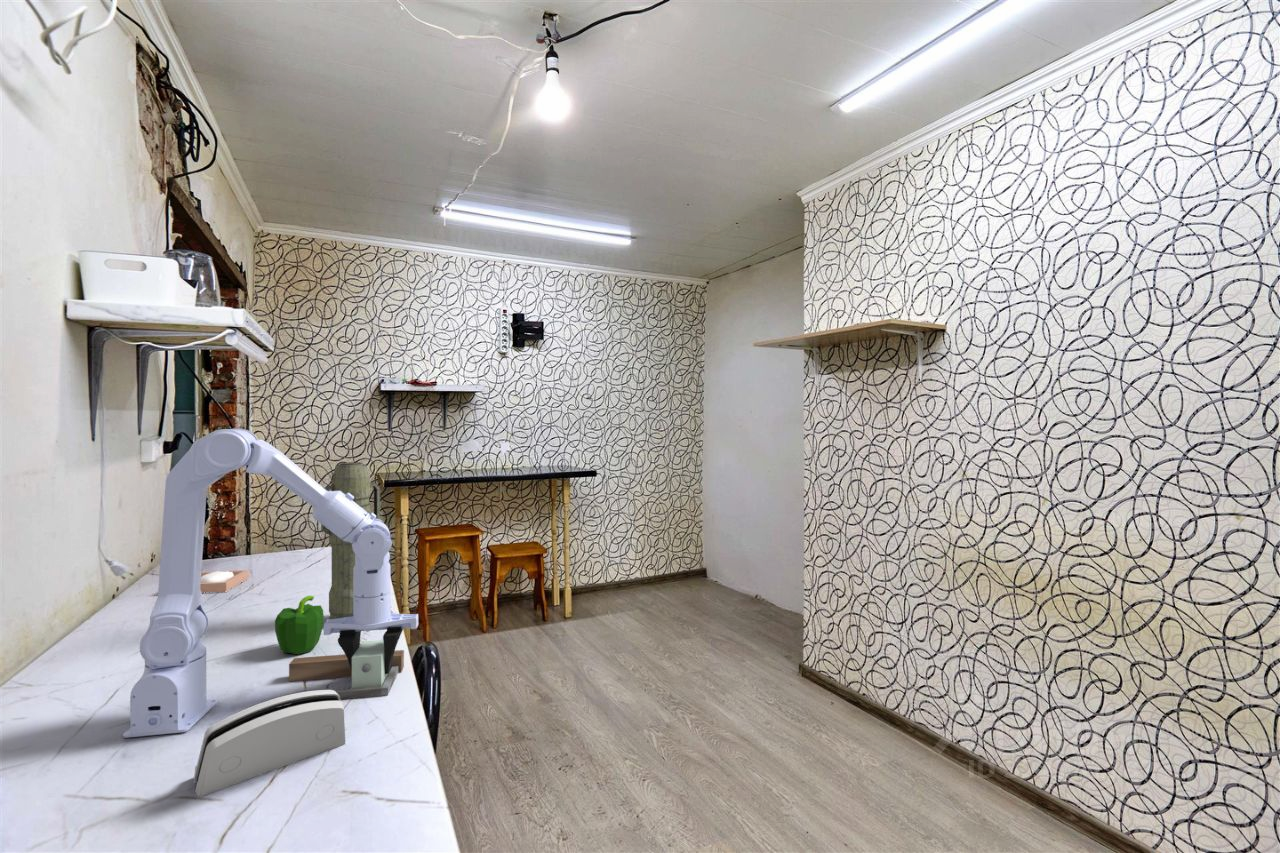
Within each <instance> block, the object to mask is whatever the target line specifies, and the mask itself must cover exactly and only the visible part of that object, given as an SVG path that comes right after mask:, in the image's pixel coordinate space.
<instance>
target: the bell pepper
mask: <svg viewBox="0 0 1280 853" xmlns="http://www.w3.org/2000/svg"><path fill="white" fill-rule="evenodd" d="M314 598H315V596H314V595H307V596H305V597H303V598H302V599H301V600H300V601H299V603H298V607H297V608H292V607H287V608H282V609H281V611H280V612H279V613H278V614H277V615H276V618H275V620H274V631H275V635H276V639H277V643H278V646H279V648H280V650H281V651H282V653H285V654H289V653H291V654H294V655H299V654H305V653H308V652H311V651H313V650H314V649H315V648H316V646H317V645H318V643H319V642H320V639H321V635H322V631H323V628H324V609H323V607H322V605H312V604H310V603H307V602H308V601H310V602H312V601H313V600H314Z"/></svg>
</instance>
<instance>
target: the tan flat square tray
mask: <svg viewBox="0 0 1280 853" xmlns="http://www.w3.org/2000/svg"><path fill="white" fill-rule="evenodd" d="M217 571H219V572H227V571H229V572H232V573H233V574H234V576H233V577H232V578H230V579H228V580H226V581H224V582H210V583H200V590H201V593H204V592H224V593H226V592H225V591H228V590H229V589H231V588H233V587H234V586H236V585H238V584H239V583H241V582H243V581H244V580H246V579H247V578H249V579H250V570H249V569H238V570H217ZM217 571H215V570H213V571H201V577H202V576H204V575H206V574H209V573H212V572H217ZM246 581H247V580H246ZM244 582H245V581H244ZM244 582H243V583H244ZM241 584H242V583H241ZM239 585H240V584H239ZM239 585H238V586H239ZM236 587H237V586H236ZM234 588H235V587H234ZM234 588H233V589H234ZM231 590H232V589H231ZM229 591H230V590H229ZM229 591H228V592H229Z"/></svg>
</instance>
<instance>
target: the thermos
mask: <svg viewBox="0 0 1280 853" xmlns="http://www.w3.org/2000/svg"><path fill="white" fill-rule="evenodd" d="M323 488H324V489H325V490H326V491H341V492H342V493H344V494H345V495H346V494H347V493H350V494H351V495H353V496H354V499H353V500H352V501H354V502H355V503H356V504H358V505H359V506H360V507H361V508H363V509H364V510H365V511H366V512H367V513H369V514H371V513H374V514H375V515H376V518H375V519H379V520H381V488H380V486H379V485H378V484H377V483H376V482H372V481H371V475H370V472H369V469H368V466H367V464H366V463H363V462H356V461H355V462H352V461H351V462H339V464H336V465H335V467H334V469H333V473H332V477H331V484H330V485H328V486H325V487H323ZM371 489H373V512H372V510H371V503H370V497H371ZM320 529H321V531H322V532H323V533H325V534H326V535H328V542H329V545H330V547H331V587H330V589H329V591H328V613H329V620H331V619H339V618H346V617H352V616H353V569H354V566H355V553H354V551H353V548H352V544H353V543H350V542H346V541H343V540H342V539H340V538H339V537H338V536H337V535H335V534H334V533H333V532H331V531H330V530H329V529H327V528H326V527H325V526H323V525H322V524H321V523H320Z"/></svg>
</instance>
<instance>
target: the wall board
mask: <svg viewBox="0 0 1280 853" xmlns="http://www.w3.org/2000/svg"><path fill="white" fill-rule="evenodd" d="M404 667H405V650H404V649H399V650H396V649H395V651H394V655H393V659H392V664H391V670H390V672H389V674H388V676H387V678H386V680H385V682H384V684H383V686H379V687H367V688H356V689H352V688H347V689H345V688H344V689H339V690H338V691H337V694H338V695H339V696H340V700H349V699H359V698H360V699H361V698H372V697H382V696H384V697H385V696H389V694H390V691H391V689H392V687H393V685H394V682H395V681H396V679H397V676H398V674H400V673H402V672H403V669H404ZM348 677H352V672H351V668H350V664H349V661H348V659H347V657H346V655H345V653H344V654H334V655H332V654H331V655H330V654H329V655H320V656H319V655H317V656H305V657H294V658H293V659H292V660H291V661H290V662H289V663H288V682H301V681H311V680H312V681H313V680H325V679H337V678H348Z"/></svg>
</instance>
